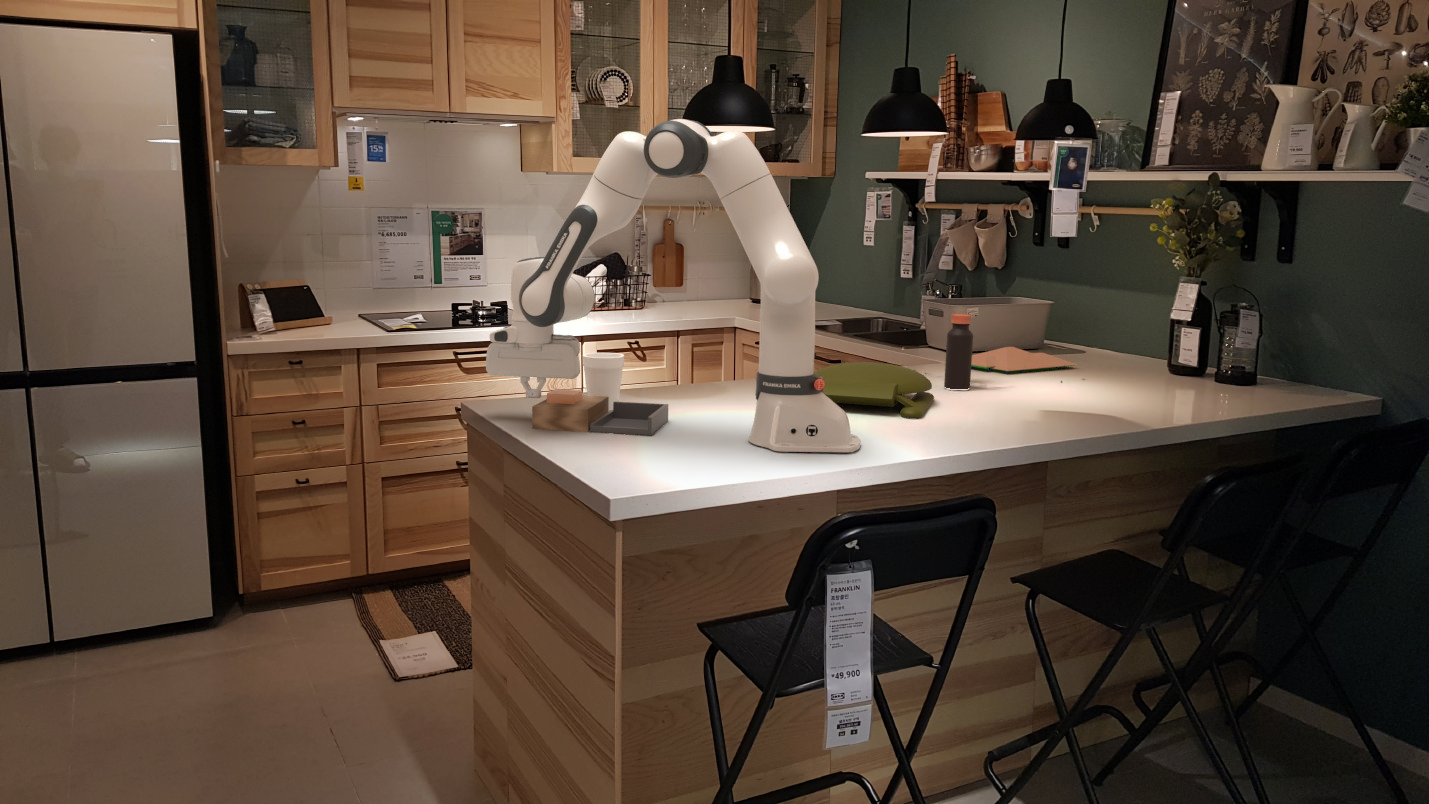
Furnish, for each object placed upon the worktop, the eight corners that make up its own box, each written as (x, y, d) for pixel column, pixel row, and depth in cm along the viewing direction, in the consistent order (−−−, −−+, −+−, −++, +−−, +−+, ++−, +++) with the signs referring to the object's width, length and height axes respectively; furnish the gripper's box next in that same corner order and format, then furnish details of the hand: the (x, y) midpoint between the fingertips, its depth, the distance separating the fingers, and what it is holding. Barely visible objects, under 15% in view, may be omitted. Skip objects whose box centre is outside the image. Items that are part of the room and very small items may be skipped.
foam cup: (586, 416, 241) (586, 358, 239) (579, 408, 250) (579, 353, 248) (627, 414, 244) (628, 357, 242) (619, 407, 253) (620, 352, 251)
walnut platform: (608, 418, 238) (608, 396, 238) (587, 433, 223) (587, 409, 222) (556, 416, 240) (556, 394, 240) (532, 430, 225) (532, 406, 224)
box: (668, 422, 236) (668, 404, 236) (651, 436, 221) (651, 417, 220) (610, 419, 238) (610, 401, 238) (590, 433, 223) (590, 414, 222)
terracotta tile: (582, 399, 234) (582, 390, 233) (574, 404, 228) (574, 394, 227) (555, 398, 235) (555, 389, 234) (546, 402, 229) (546, 393, 228)
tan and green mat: (942, 372, 324) (943, 345, 322) (1017, 365, 342) (1019, 340, 340) (1000, 382, 305) (1001, 354, 304) (1077, 375, 323) (1079, 348, 321)
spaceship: (921, 421, 245) (923, 379, 244) (789, 411, 254) (790, 370, 253) (937, 397, 278) (939, 359, 277) (820, 389, 287) (821, 352, 286)
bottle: (972, 391, 285) (977, 316, 282) (946, 391, 285) (950, 315, 282) (966, 387, 292) (971, 314, 289) (941, 387, 292) (946, 313, 289)
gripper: (584, 333, 231) (584, 397, 234) (493, 330, 235) (494, 393, 237) (575, 337, 225) (575, 402, 227) (482, 333, 228) (483, 398, 231)
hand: (533, 397), depth 232 cm, fingers closed
